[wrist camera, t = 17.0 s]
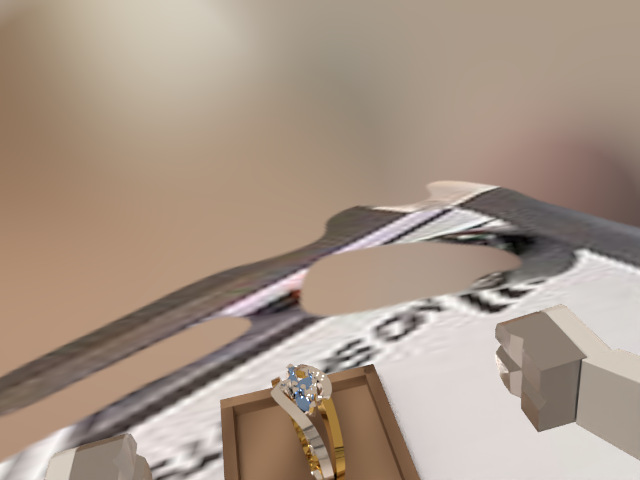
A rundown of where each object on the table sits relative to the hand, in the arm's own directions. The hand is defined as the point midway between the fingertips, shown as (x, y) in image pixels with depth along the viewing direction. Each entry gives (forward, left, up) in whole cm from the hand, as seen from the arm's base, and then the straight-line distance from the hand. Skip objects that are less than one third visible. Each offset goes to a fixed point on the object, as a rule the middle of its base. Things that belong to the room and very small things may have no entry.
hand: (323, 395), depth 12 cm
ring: (0, -13, -20) cm, 24 cm away
